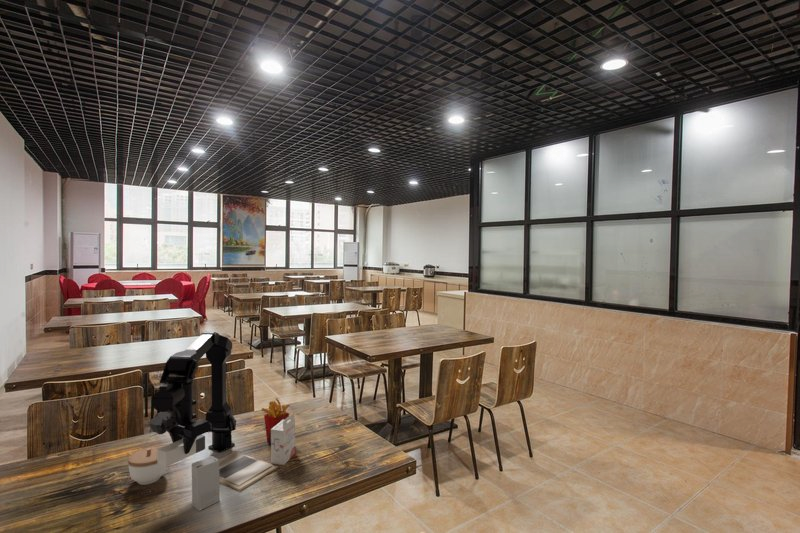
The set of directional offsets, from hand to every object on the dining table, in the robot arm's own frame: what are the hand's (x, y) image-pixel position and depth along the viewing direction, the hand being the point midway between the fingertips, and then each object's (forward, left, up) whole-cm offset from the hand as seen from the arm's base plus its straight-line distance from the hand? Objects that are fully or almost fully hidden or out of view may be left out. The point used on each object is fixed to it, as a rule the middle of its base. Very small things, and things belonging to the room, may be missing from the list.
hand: (182, 451), depth 119 cm
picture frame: (+4, +16, -12) cm, 20 cm away
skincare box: (+11, 0, -12) cm, 16 cm away
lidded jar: (-15, -1, -12) cm, 19 cm away
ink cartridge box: (+11, +29, -12) cm, 33 cm away
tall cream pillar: (0, 0, -1) cm, 1 cm away
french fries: (-2, +37, -12) cm, 39 cm away
